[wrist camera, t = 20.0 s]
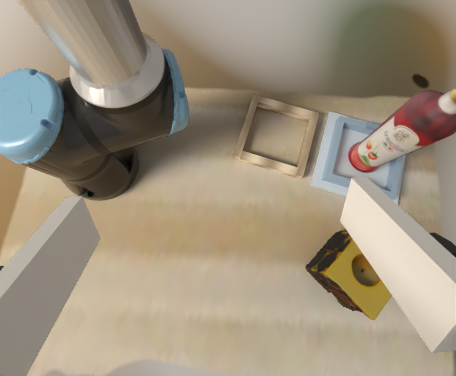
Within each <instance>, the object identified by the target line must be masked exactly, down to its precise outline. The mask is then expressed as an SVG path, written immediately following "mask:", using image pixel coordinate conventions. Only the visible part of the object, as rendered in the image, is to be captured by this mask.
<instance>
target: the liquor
mask: <svg viewBox="0 0 456 376" xmlns="http://www.w3.org/2000/svg"><path fill="white" fill-rule="evenodd" d="M455 132H456V88H455V89H453V90H451V91H449V92H448V93H446V94H443V93H441V92H438V91H433V90H426V91H421V92H419V93H417V94H416V95H414V96H413V97H412V98H411V99H410V100H409V101H407V102H406V103H405V104H404V105H403V106H402V107H400V108H399V109H398V110H397V111H396V112H395V113H393V114H392V115H391V116H390V117H389V118H388V119H387V120H386V121H384V122H383V123H382V124H381V125H380V126H379V127H378V128H377V129H376V130H374V131H373V132H372V133H371V134H370V135H369V136H367V137H366V138H365V139H364V140H362V141H361V142H358V143H356V144H354V145H353V146H352V147H351V148H350V150H349V153H348V158H349V161H350V163H351V165H352V166H353V167H354V168H355V169H356V170H358V171H360V172H363V173H371V172H374V171H375V170H377V169H378V168H379V166H381V165H383V164H385V163H387V162H390V161H392V160H394V159H396V158H399V157H401V156H403V155H406V154H408V153H411V152H413V151H416V150H418V149H421V148H423V147H425V146H427V145H430V144H432V143H434V142H436V141H439V140H441V139H444V138H446V137H448V136H450V135H452V134H454V133H455Z"/></svg>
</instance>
